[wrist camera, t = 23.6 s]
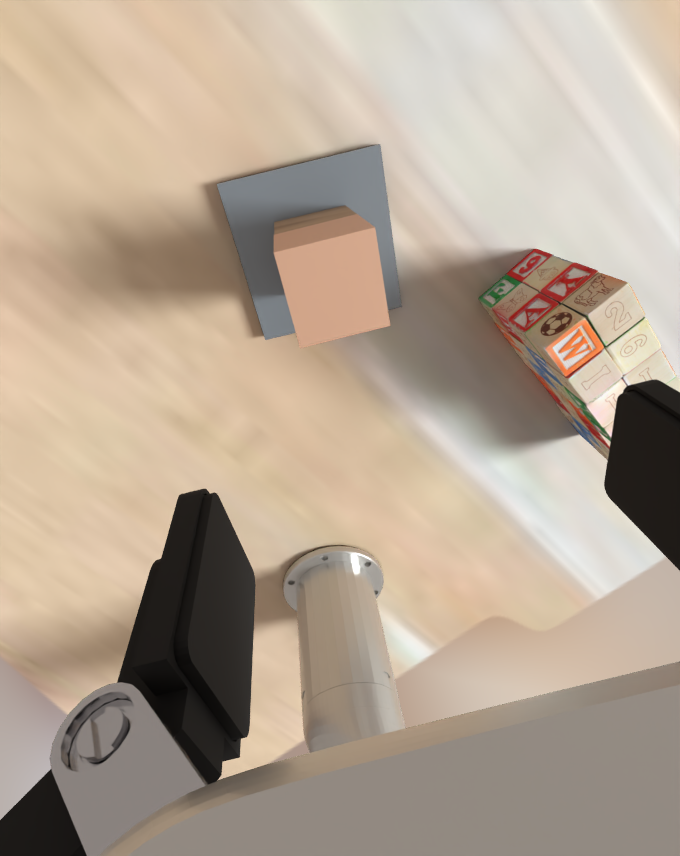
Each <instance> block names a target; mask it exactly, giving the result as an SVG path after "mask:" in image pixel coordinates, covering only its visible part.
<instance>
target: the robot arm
mask: <svg viewBox="0 0 680 856" xmlns="http://www.w3.org/2000/svg"><path fill="white" fill-rule="evenodd" d="M604 486H605V490H606V493H607V495H608V497H609V498H610V499H611V500H612V501H613V502H614V503H615V504H616V505H617V506H618V507H619V508H620V509H621V510H622V511H623V513H624V514H625V515H626V516H627V517H628V518H629V519H630V520H631V521H632V522H633V523H634V524H635V525H636V526H637V527H638V528H639V529H640V530H641V531H642V532H643V533H644V534H645V535H646V536H647V537H648V538H649V539H650V540H651V541H652V542H653V543H654V544H655V546H656V547H657V548H658V549H659V550H660V551H661V552H662V553H663V554H664V555H665V556H666V557H667V558H668V559H669V560H670V561H671V562H672V563H673V564H674V565H675V566H676V567H677V568H678V569H679V570H680V392H678V391H677V390H675V389H673V388H672V387H670V386H668V385H667V384H665V383H663V382H661V381H659V380H657V379H656V380H648V381H644V382H640V383H636V384H632V385H629V386H627V387H626V388H625V389H624V390H623V393H622V394H620V395H619V396H618V398H617V403H616V409H615V416H614V423H613V429H612V436H611V442H610V449H609V456H608V462H607V469H606V476H605V482H604ZM383 583H384V578H383V572H382V569H381V566H380V564H379V562H378V561H377V560H376V559H375V558H374V557H373V556H372V555H370V554H369V553H367V552H365V551H363V550H361V549H358V548H353V547H347V546H332V547H326V548H321V549H318V550H315V551H312V552H310V553H308V554H306V555H304V556H302V557H301V558H300V559H298V560H297V561H296V562H294V564H293V565H292V566H291V567H290V568H289V569H288V571H287V573H286V574H285V578H284V581H283V591H284V597H285V599H286V602H287V603H288V604H289V606H290V607H291V608H292V609H294V610H295V611H296V612H297V620H298V639H299V659H300V678H301V698H302V716H303V731H304V737H305V741H306V745H307V747H308V750H309V752H310V753H308V754H304V755H301V756H297V757H293V758H290V759H285V760H282V761H278V762H274V763H270V764H267V765H263V766H260V767H257V768H254V769H251V770H248V771H245V772H242V773H239V774H236V775H233V776H230V777H226V778H223V779H220V780H218V779H219V777H220V776H221V772H222V761H226V760H231V759H235V758H239V757H240V743H241V738H245V737H247V736H248V733H249V726H250V702H251V678H252V654H253V630H254V606H255V576H254V572H253V569H252V567H251V565H250V563H249V560H248V558H247V556H246V554H245V552H244V550H243V548H242V545H241V543H240V541H239V539H238V537H237V535H236V533H235V530H234V528H233V526H232V524H231V522H230V520H229V518H228V515H227V513H226V511H225V509H224V507H223V505H222V503H221V500H220V498H219V496H218V495H217V494H216V493H211V494H210V493H209V492H208V491H207V490H206V489H201V490H197V491H192V492H188V493H184V494H181V495H179V497H178V500H177V504H176V507H175V511H174V515H173V518H172V522H171V525H170V529H169V533H168V536H167V540H166V544H165V547H164V551H163V555H162V558H161V559H159V560H156V561H155V562H154V563H153V565H152V567H151V570H150V573H149V576H148V580H147V583H146V586H145V590H144V593H143V597H142V600H141V603H140V607H139V610H138V614H137V617H136V620H135V624H134V627H133V631H132V634H131V637H130V641H129V644H128V648H127V651H126V654H125V658H124V661H123V665H122V668H121V671H120V675H119V678H118V682H117V683H114V684H109V685H106V686H104V687H102V688H100V689H97V690H95V691H94V692H93V693H91V694H90V695H88V696H87V697H86V698H84V699H83V700H82V701H81V702H80V703H79V704H78V705H77V706H76V707H75V708H74V709H73V710H72V711H71V712H70V713H69V715H68V716H67V718H66V719H65V720H64V722H63V724H62V725H61V726H60V728H59V730H58V732H57V735H56V737H55V739H54V741H53V744H52V750H51V755H50V763H51V770H50V771H49V772H48V773H47V774H46V775H45V776H44V777H43V778H42V779H41V780H40V781H39V782H38V783H37V784H36V785H35V786H34V787H33V788H32V789H31V790H30V791H29V792H28V793H27V794H26V795H25V796H24V797H23V798H22V799H21V800H20V801H19V802H18V803H17V804H16V805H15V806H14V807H13V808H12V809H11V810H10V811H9V812H8V813H7V814H6V815H5V816H4V817H3V818H2V819H1V820H0V856H680V662H676V663H672V664H667V665H663V666H659V667H655V668H651V669H646V670H642V671H638V672H634V673H630V674H626V675H622V676H618V677H613V678H609V679H605V680H601V681H597V682H593V683H589V684H584V685H580V686H576V687H572V688H568V689H564V690H560V691H556V692H552V693H547V694H543V695H539V696H535V697H532V698H527V699H523V700H519V701H514V702H510V703H506V704H502V705H498V706H494V707H490V708H486V709H482V710H478V711H474V712H470V713H466V714H461V715H458V716H453V717H449V718H445V719H441V720H437V721H433V722H429V723H425V724H421V725H418V726H413V727H409V728H406V727H405V723H404V719H403V715H402V710H401V706H400V702H399V697H398V693H397V688H396V684H395V680H394V675H393V671H392V667H391V662H390V658H389V653H388V649H387V645H386V640H385V636H384V632H383V627H382V623H381V619H380V614H379V610H378V605H377V601H376V598H377V597H378V596H379V594H380V592H381V590H382V588H383ZM217 780H218V781H217Z"/></svg>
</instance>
